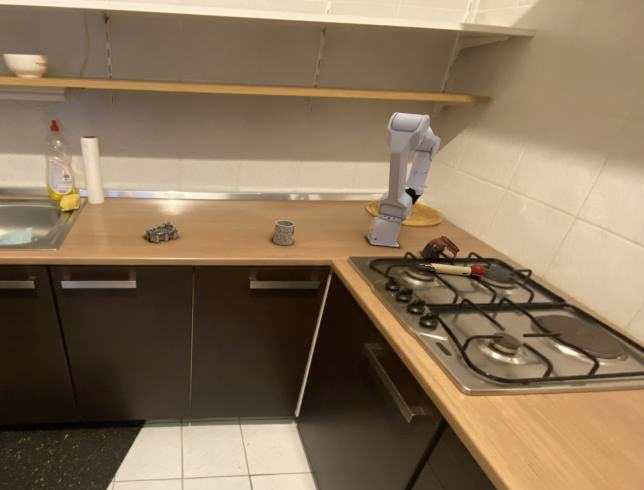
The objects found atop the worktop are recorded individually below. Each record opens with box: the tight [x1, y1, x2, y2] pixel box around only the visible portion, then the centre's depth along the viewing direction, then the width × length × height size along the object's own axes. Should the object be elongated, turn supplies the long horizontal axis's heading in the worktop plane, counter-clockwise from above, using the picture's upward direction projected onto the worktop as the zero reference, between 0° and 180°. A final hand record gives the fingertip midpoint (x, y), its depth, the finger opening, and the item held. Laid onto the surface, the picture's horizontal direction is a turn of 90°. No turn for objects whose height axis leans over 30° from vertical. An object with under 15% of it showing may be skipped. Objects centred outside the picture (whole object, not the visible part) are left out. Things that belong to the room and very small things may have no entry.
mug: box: [272, 219, 296, 246], centre depth 135 cm, size 10×7×7 cm, turn 9°
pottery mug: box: [421, 235, 461, 259], centre depth 125 cm, size 12×10×8 cm
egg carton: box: [144, 221, 180, 243], centre depth 133 cm, size 11×8×4 cm
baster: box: [419, 262, 486, 278], centre depth 116 cm, size 18×4×4 cm, turn 79°
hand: (407, 209), depth 142 cm, fingers closed
